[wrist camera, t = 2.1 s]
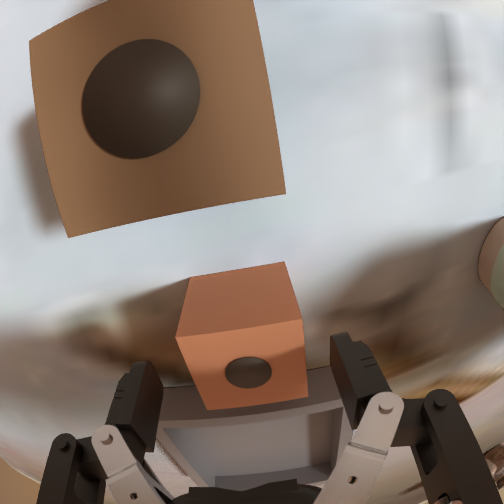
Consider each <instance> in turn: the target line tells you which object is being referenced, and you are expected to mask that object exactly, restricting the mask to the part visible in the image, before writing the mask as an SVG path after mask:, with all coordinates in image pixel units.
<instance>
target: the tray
mask: <svg viewBox="0 0 504 504" xmlns="http://www.w3.org/2000/svg"><path fill="white" fill-rule="evenodd" d="M307 386H308V397H303V398H298V399H293V400H287V401H281V402H274V403H268V404H261V405H253V406H245V407H237V408H227V409H216V410H207V408H206V406H205V404H204V402H203V400H202V398H201V396H200V393H199V391H198V389H197V387H196V386H187V387H172V388H163V400H162V405H161V411H160V416H159V422H158V428H157V434H156V438H157V439H158V440H159V442H160V443H161V444H162V445H163V447H164V448H165V449H166V450H167V451H168V453H169V454H170V455H171V456H172V457H173V459H174V460H175V461H176V462H177V463H178V464H179V466H180V467H181V468H182V469H183V470H184V471H185V472H186V473H187V475H188V476H189V477H190V478H191V479H192V480H193V481H194V482H195V483H196V484H197V485H198V486H199V487H218V488H223V489H229V490H236V491H245V490H248V489H251V488H255V487H258V486H261V485H264V484H267V483H269V482H277V481H284V480H290V479H296V478H297V483H298V484H306V485H312V486H315V485H320V484H325V483H326V482H327V480H328V479H329V477H330V475H331V473H332V472H333V470H334V468H335V466H336V464H337V463H338V461H339V459H340V457H341V455H342V453H343V451H344V450H345V448H346V446H347V445H348V443H350V442H351V440H352V435H353V430H352V429H351V426H350V423H349V420H348V417H347V414H346V411H345V408H344V405H343V402H342V399H341V396H340V393H339V391H338V388H337V385H336V382H335V379H334V376H333V373H332V370H331V366H327V367H323V368H318V369H313V370H308V371H307Z"/></svg>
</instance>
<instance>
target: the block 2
mask: <svg viewBox="0 0 504 504" xmlns="http://www.w3.org/2000/svg"><path fill="white" fill-rule="evenodd" d="M175 338H176V340H177V343H178V345H179V348H180V350H181V353H182V355H183V357H184V360H185V362H186V364H187V367H188V369H189V371H190V374H191V376H192V378H193V380H194V382H195V385H196V387H197V389H198V391H199V393H200V396H201V398H202V400H203V402H204V404H205V406H206V408H207V410H216V409H227V408H237V407H245V406H253V405H261V404H268V403H274V402H281V401H287V400H293V399H298V398H303V397H308V386H307V371H306V357H305V344H304V332H303V321H302V316H301V313H300V309H299V306H298V303H297V300H296V297H295V293H294V290H293V287H292V284H291V281H290V278H289V274H288V271H287V268H286V265H285V262H279V263H273V264H267V265H261V266H255V267H249V268H243V269H237V270H231V271H225V272H219V273H213V274H207V275H201V276H194V277H190V280H189V284H188V288H187V292H186V296H185V300H184V304H183V308H182V312H181V316H180V320H179V324H178V328H177V332H176V337H175Z"/></svg>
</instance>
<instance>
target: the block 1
mask: <svg viewBox="0 0 504 504" xmlns="http://www.w3.org/2000/svg"><path fill="white" fill-rule="evenodd" d="M29 50H30V66H31V77H32V87H33V95H34V102H35V109H36V116H37V122H38V127H39V133H40V138H41V143H42V148H43V152H44V157H45V161H46V165H47V169H48V173H49V177H50V181H51V185H52V188H53V192H54V196H55V199H56V202H57V206H58V209H59V212H60V215H61V218H62V222H63V225H64V228H65V230H66V233H67V236H68V238H71V237H75V236H79V235H83V234H87V233H91V232H95V231H99V230H103V229H108V228H112V227H116V226H121V225H125V224H129V223H134V222H138V221H143V220H148V219H152V218H157V217H162V216H167V215H172V214H176V213H181V212H186V211H192V210H197V209H202V208H207V207H213V206H218V205H223V204H229V203H235V202H240V201H246V200H252V199H258V198H264V197H270V196H276V195H283V194H286V189H285V182H284V175H283V168H282V161H281V154H280V147H279V141H278V134H277V128H276V122H275V116H274V110H273V104H272V98H271V92H270V86H269V80H268V75H267V69H266V64H265V58H264V53H263V48H262V43H261V37H260V32H259V27H258V22H257V18H256V13H255V8H254V3H253V0H109V1H107V2H104V3H102V4H99V5H97V6H95V7H92V8H90V9H88V10H86V11H84V12H81V13H79V14H77V15H75V16H73V17H71V18H69V19H67V20H65V21H63V22H61V23H59V24H57V25H56V26H54V27H52V28H50V29H48V30H47V31H45V32H43V33H41V34H40V35H38V36H36V37H35V38H33V39H31V40H30V41H29Z"/></svg>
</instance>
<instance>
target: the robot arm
mask: <svg viewBox="0 0 504 504" xmlns="http://www.w3.org/2000/svg"><path fill="white" fill-rule="evenodd" d="M330 365H331V370H332V373H333V376H334V379H335V382H336V385H337V388H338V391H339V393H340V396H341V399H342V402H343V405H344V408H345V411H346V414H347V417H348V420H349V423H350V426H351V429H352V430H354V429H357V430H356V432H355V434H354V436H353V438H352V440H351V442H350V443H348V445H347V446H346V448H345V450H344V451H343V453H342V455H341V457H340V459H339V461H338V463H337V464H336V466H335V468H334V470H333V472H332V473H331V475H330V477H329V479H328V480H327V482H326V484H325V485H324V487H323V489H321V488H319V487H316V486H312V485H306V484H298V483H297V478H296V479H290V480H284V481H277V482H269V483H267V484H264V485H261V486H258V487H255V488H251V489H248V490H245V491H236V490H229V489H223V488H218V487H189V493H187V494H184V495H181V496H179V497H176V498H174V497H173V496H172V495H171V494H170V493H169V492H168V491H167V490H166V489H165V487H164V486H163V485H162V483H161V482H160V481H159V479H158V478H157V476H156V475H155V473H154V472H153V471H152V469H151V468H150V466H149V465H148V463H147V462H146V460H145V459H144V454H145V452H154V446H155V440H156V434H157V428H158V422H159V416H160V411H161V405H162V400H163V385H162V383H161V381H160V379H159V377H158V375H157V373H156V371H155V369H154V367H153V365H152V363H151V362H150V361H143V362H134V363H133V364H132V367H131V370H130V373H125V374H124V376H123V377H122V378H121V379H120V381H119V382H118V385H117V388H116V392H115V394H114V399H113V401H112V404H111V407H110V410H109V413H108V417H107V420H106V423H105V425H103V426H101V427H99V428H98V429H96V430H95V431H94V433H93V435H92V436H91V437H87V438H82V439H77V440H76V439H75V438H74V437H73V436H72V435H71V434H68V433H64V434H60V435H59V436H57V437H56V438H55V439H54V441H53V443H52V446H51V449H50V452H49V456H48V459H47V463H46V466H45V470H44V474H43V478H42V482H41V486H40V490H39V494H38V499H37V503H36V504H103V502H104V494H105V487H106V484H107V486H108V487H109V489H110V491H111V493H112V495H113V497H114V499H115V500H116V502H117V504H365V502H366V500H367V498H368V496H369V494H370V492H371V490H372V488H373V486H374V484H375V482H376V480H377V478H378V475H379V473H380V471H381V469H382V466H383V464H384V462H385V459H386V457H387V454H388V451H389V448H390V447H398V446H410V447H411V450H412V453H413V456H414V458H415V461H416V464H417V467H418V470H419V474H420V477H421V480H422V483H423V486H424V489H425V493H426V496H427V499H428V503H429V504H503V503H502V500H501V497H500V494H499V492H498V489H497V486H496V484H495V481H494V479H493V476H492V474H491V471H490V469H489V467H488V464H487V462H486V460H485V457H484V455H483V453H482V451H481V449H480V446H479V444H478V442H477V440H476V438H475V436H474V434H473V431H472V429H471V427H470V425H469V423H468V421H467V419H466V417H465V415H464V413H463V411H462V409H461V408H460V406H459V404H458V402H457V400H456V398H455V396H454V395H453V394H452V393H451V392H449V391H448V390H445V389H436V390H433V391H431V392H429V393H428V394H427V396H426V397H425V398H423V399H403V398H401V397H400V396H398V395H397V394H395V393H393V392H392V391H391V389H390V387H389V385H388V383H387V381H386V379H385V377H384V375H383V373H382V371H381V369H380V367H379V366H378V365H377V362H376V360H375V358H374V356H373V354H372V352H371V350H370V348H369V347H368V346H367V345H365V344H364V343H363V342H362V341H357V342H352V340H351V338H350V336H349V334H348V332H345V333H340V334H336V335H331V336H330ZM76 478H77V479H76ZM75 483H76V484H75Z"/></svg>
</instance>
